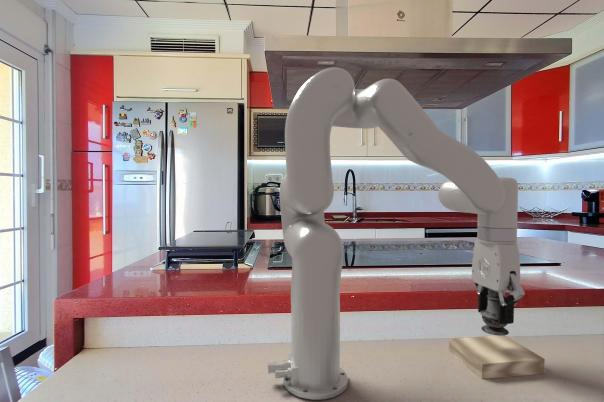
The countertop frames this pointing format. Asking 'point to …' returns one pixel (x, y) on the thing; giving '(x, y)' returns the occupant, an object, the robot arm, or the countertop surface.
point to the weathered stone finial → (493, 315)
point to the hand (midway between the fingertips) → (495, 316)
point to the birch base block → (496, 356)
